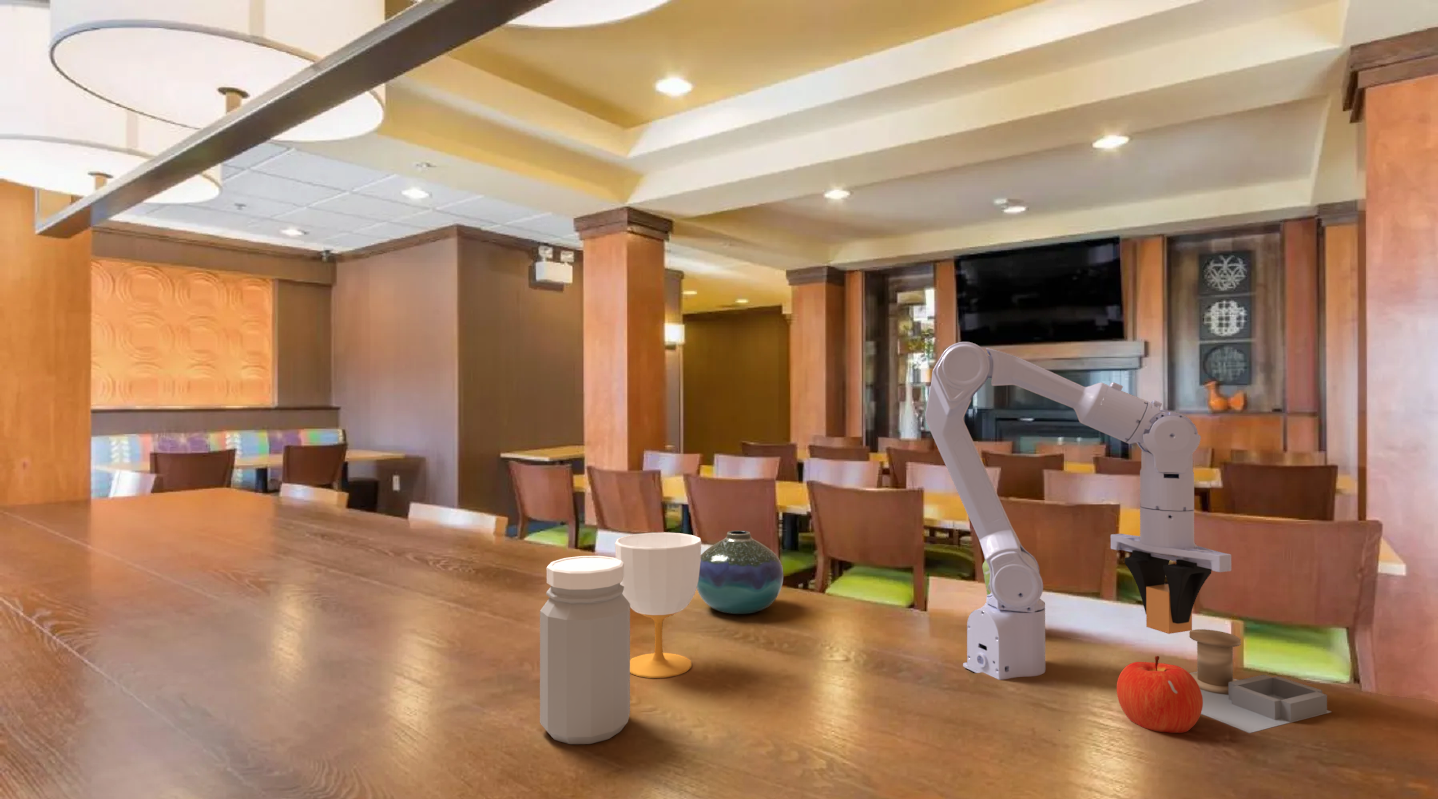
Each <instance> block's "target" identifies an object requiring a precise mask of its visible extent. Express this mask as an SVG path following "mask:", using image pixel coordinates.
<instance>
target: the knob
mask: <svg viewBox="0 0 1438 799" xmlns="http://www.w3.org/2000/svg"><path fill="white" fill-rule="evenodd" d="M1188 634H1189V636H1188V637H1189V638H1190V639H1191V640H1192V641H1194V642H1196V650H1197V651H1196V652H1197V654H1196V657H1197V658H1196V661H1197V663H1196V664H1197V666H1196V668H1197V669H1196V672H1197V673H1194V672H1190V673H1191V675H1192V677H1193V678H1194V679H1195V680H1196V682H1197V683H1198V685H1199V688H1200V689H1201V690H1204V691H1207V692H1212V693H1217V694H1225V695H1229V682H1232V681H1237V680H1238V679H1236V678H1234V677H1233V676H1234V675H1233V674H1234V673H1233V672H1234V667H1233V666H1234V662H1233V661H1234V659H1233V656H1234V654H1233V651H1234V650H1233V648H1234V647H1235V648H1236V647H1239V646H1241V643H1242V640H1241V638H1240V637H1239V636H1237V635H1234V634H1232V633H1229V632H1225V631H1221V630H1215V629H1205V628H1204V629H1202V628H1201V629H1199V628H1198V629H1192V630H1191V631H1188ZM1235 679H1236V680H1235Z"/></svg>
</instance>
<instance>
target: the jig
mask: <svg viewBox="0 0 1438 799" xmlns="http://www.w3.org/2000/svg"><path fill="white" fill-rule="evenodd" d="M1189 673H1190V674H1191V673H1192V672H1189ZM1193 673H1197V671H1194V672H1193ZM1234 679H1235V680H1237V681H1232V682H1229V695H1225V694H1217V693H1212V692H1207V691H1204V690H1201V689H1200V690H1201V694H1202V698H1203V707H1202V711H1201V715H1203V716H1205V717H1208V718H1211V719H1213V720H1216V721H1217V722H1221V723H1223V724H1225V725H1228V726H1231V727H1233V728H1236V729H1238V730H1240V731H1242V732H1244V733H1245V732H1246V733H1248V734H1253V733H1256V732H1260V731H1264V730H1267V729H1271V728H1276V727H1279V726H1283V725H1287V724H1291V723H1294V722H1298V721H1302V720H1306V719H1310V718H1314V717H1318V716H1321V715H1325V714H1326V715H1327V714H1329V713H1332V711H1331V710H1328V694H1325V693H1323V690H1322V689H1319V688H1317V687H1314V686H1311V685H1306V684H1305V683H1300V682H1297V681H1295V680H1291V679H1287V678H1285V677H1281V676H1279V675H1278V676H1274V677H1273V676H1269V675H1266V674H1260V675H1257V676H1250V677H1246V678H1241V679H1236V678H1234Z"/></svg>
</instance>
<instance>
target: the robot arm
mask: <svg viewBox="0 0 1438 799" xmlns="http://www.w3.org/2000/svg"><path fill="white" fill-rule="evenodd" d="M985 349H986V351H987V352H986V351H985ZM985 349H983V348H982V346H980V345H978V344H976V343H973V342H970V341H960V342H956V343H953V344H951V345H949V346H948V347H946V349H945V350H944V351H943V353H941V356H940V358H939V359H938V360H937V362H936V364H935V366H934V368H933V369H932V372H931V383H930V387H929V391H928V398H927V403H926V407H925V408H926V409H925V413H924V414H925V415H924V417H925V421H926V425H927V427H928V429H929V431H930V433H931V435H932V438H933V439H934V443H935V445H936V446H937V448H938V452H939V453H940V454H939V455H940V456H941V458H942V460H943V462H944V464H945V466H946V470H947V472H948V473H949V474H948V475H949V476H950V478H951V480H952V483H953V485H954V488H955V490H956V492H957V494H958V496H959V498H960V501H961V503H962V505H963V507H964V509H965V512H966V514H967V516H968V518H969V521H970V522H971V525H972V527H973V529H974V532H975V534H976V536H977V538H978V541H979V544H980V547H981V550H982V553H983V557H984V560H985V559H986V562H987V564H988V566H989V570H990V589H991V593H990V594H988V595H987V594H986V599H985V600H986V602H985V603H984V604H983V605H982V607H979V608H977V609H974V610H973V611H971V613H970V614H969V616H968V618H967V622H966V655H967V656H966V657H967V658H966V659H967V660H966V661H967V662H963V664H962V667H964V668H965V669H966V670H967V669H968V670H969V671H970V672H974V673H975V674H979V673H984V674H986V675H987V676H990V677H992V678H995V679H997V680H998V681H1002V680H1008V679H1015V678H1021V677H1037V676H1041V675H1042V674H1045V672H1046V603H1045V601H1044V600H1042V599H1041V597H1042V595H1043V592H1044V583H1043V578H1042V576H1041V571H1040V566H1039V563H1038V561H1037V560H1036V557H1035V556H1034V555H1032V554H1031V553H1030V552H1029V551H1028V550H1026V549H1025V548H1024V546H1023V545H1022V542H1021V541H1020V539H1019V537H1018V535H1017V533H1016V532H1015V529H1014V528H1013V526H1012V524H1011V521H1010V520H1009V518H1008V514H1007V512H1006V511H1005V509H1004V507H1003V503H1002V502H1001V499H1000V497H999V495H998V493H997V491H996V489H995V487H994V484H993V482H992V479H991V478H990V475H989V473H988V471H987V469H986V467H985V464H984V462H983V460H982V458H981V456H980V453H979V451H978V448H977V447H976V445H975V442H974V440H973V437H972V436H971V434H970V431H969V429H968V427H967V425H966V422H965V421H964V417H965V415H966V413H967V411H968V408H969V406H970V405H971V402H972V399H973V397H974V396H975V395H976V394H977V393H978V392H979V391H980V389H981V388H982V387H983V386H984V385H985V384H986V382H988V380H989V379H991V381H990V382H991V383H990V385H991V386H993V387H997V386H1016V387H1019V388H1021V389H1024V390H1027V391H1028V392H1029V391H1030V392H1031V393H1034V394H1035V395H1036V394H1037V395H1039V396H1041V397H1044V398H1047V399H1049V400H1051V401H1054V402H1056V403H1059V404H1062V405H1064V406H1067V407H1069V408H1071V409H1073V410H1074V411H1075V414H1076V416H1077V419H1078V422H1079V423H1080V424H1082V425H1084V426H1087V427H1089V428H1091V429H1094V430H1096V431H1099V432H1101V433H1103V434H1105V435H1108V436H1110V437H1112V438H1115V439H1116V440H1119V441H1122V442H1123V443H1126V444H1128V445H1130V444H1131V445H1132V444H1135V443H1136V444H1137V446H1138V447H1139V449H1140V450H1141V452H1140V456H1141V466H1140V467H1141V468H1140V470H1139V506H1140V507H1139V535H1133V534H1132V535H1131V534H1125V533H1115V534H1114V533H1113V534H1110V550H1115V551H1125V552H1129V553H1131V555H1130V556H1125V557H1124V565H1125V566H1126V567H1127V569H1128V570H1129V572H1130V574H1131V576H1132V578H1133V580H1134V582H1135V584H1136V587H1137V588H1138V592H1139V594H1140V597H1141V598H1140V599H1141V602H1142V604H1143V608H1144V613H1145V614H1146V587H1148V586H1156V585H1165V580H1166V581H1167V582H1166V583H1167V584H1168V586H1169V592H1170V609H1171V616H1172V621H1173V623H1177V624H1180V623H1187V622H1189V619H1190V616H1191V612H1192V613H1193V608H1194V605H1195V603H1196V600H1197V597H1198V595H1199V593H1200V591H1201V589H1202V587H1203V585H1204V584H1205V583H1206V581H1207V579H1208V578H1209V576H1210V575H1211V574H1212V572H1216V573H1224V572H1225V573H1226V572H1232V554H1230V553H1225V552H1221V551H1218V550H1213V549H1210V548H1206V547H1203V546H1200V545H1197V544H1196V543H1195V473H1194V470H1193V469H1194V468H1193V467H1194V466H1193V465H1194V458H1193V456H1194V455H1193V453H1195V452H1196V450H1197V449H1198V448H1199V445H1200V444H1201V440H1202V438H1201V437H1202V436H1201V435H1200V434H1199V432H1198V428H1197V426H1196V424H1195V423H1194V422H1193V421H1192V419H1190V417H1188V416H1186V415H1184V414H1182V413H1179V412H1177V411H1176V412H1175V411H1170V410H1167V409H1161V407H1162V402H1161V401H1157V400H1155V399H1153V400H1151V402H1150V401H1147V400H1145V399H1142V398H1140V397H1138V396H1135V395H1133V394H1132V393H1131V394H1130V393H1128V392H1126V391H1123V390H1122V389H1123V387H1124V386H1123V385H1121V384H1119V383H1117V382H1110V384H1106V383H1104V382H1097V383H1094V384H1092V385H1088V386H1083V385H1082V384H1079V383H1077V382H1074V381H1072V380H1071V379H1068V378H1065V377H1063V376H1062V375H1059V374H1057V373H1054V372H1052V371H1051V370H1048V369H1045V368H1044V367H1041V366H1040V365H1037V364H1034V363H1032V362H1030V361H1028V360H1025V359H1023V358H1021V357H1020V356H1016V355H1013V354H1010V353H1007V352H1004V351H1001V350H998V349H997V350H996V349H992V348H989V347H986V348H985ZM1171 561H1173V562H1175V563H1173V564H1171V563H1170V562H1171Z"/></svg>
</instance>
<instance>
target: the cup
mask: <svg viewBox="0 0 1438 799" xmlns="http://www.w3.org/2000/svg"><path fill="white" fill-rule="evenodd" d="M614 547H615V558H616V559H618V560H621V561H623V562H624V578H623V580H622V582H621V583H620V585H622V586H624V590H623V593H622V594H623V595H624V597H625V598H626V599H627V600H628V602H629V603H630V610H632V611H633V612H635V613H637V614H640V615H641V616H644V617H647V618H649V619H652V620H653V622H654V624H653V625H654V652H653V653H652V652H651V653H645V654H640V655H637V656H635V657H632V658H630V675H634V676H637V677H639V678H647V679H666V678H672V677H677V676H680V675H682V674H685V673H687V672H688V671H689V670H690V669H691V668H692V667H693V666H692V661H691V660H690V659H689V658H687V656H684V655H680V654H678V653H670V652H664V651H663V624H664V623H663V622H664V621H665V619H667V618H669V617H672V616H674V615H676V614H678V613H680V612H682V611H683V610H685V609H686V608H687V606H689V605H690V603H691V602H692V599H694V596H695V594H696V591H697V584H698V579H699V570H700V562H701V554H702V540H701V537H698V536H696V535H694V534H693V535H692V534H688V533H680V532H645V533H634V534H630V535H625V536H622V537H619V538H616V541H615V542H614Z"/></svg>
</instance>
